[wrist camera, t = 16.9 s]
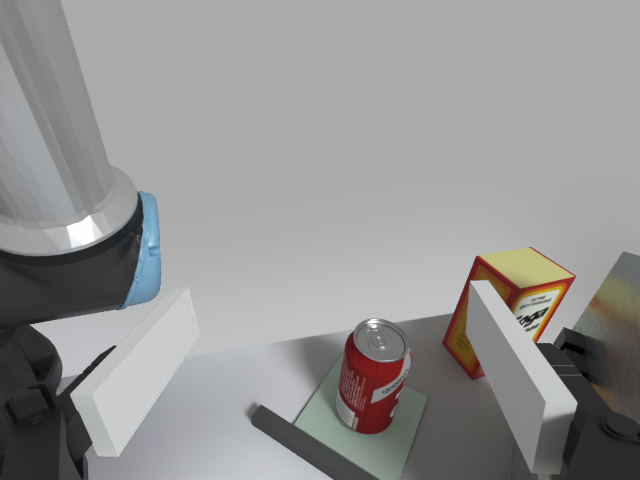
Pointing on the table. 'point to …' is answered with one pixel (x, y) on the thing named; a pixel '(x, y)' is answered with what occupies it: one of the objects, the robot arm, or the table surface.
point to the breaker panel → (604, 350)
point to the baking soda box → (510, 297)
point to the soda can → (372, 376)
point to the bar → (307, 447)
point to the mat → (362, 450)
